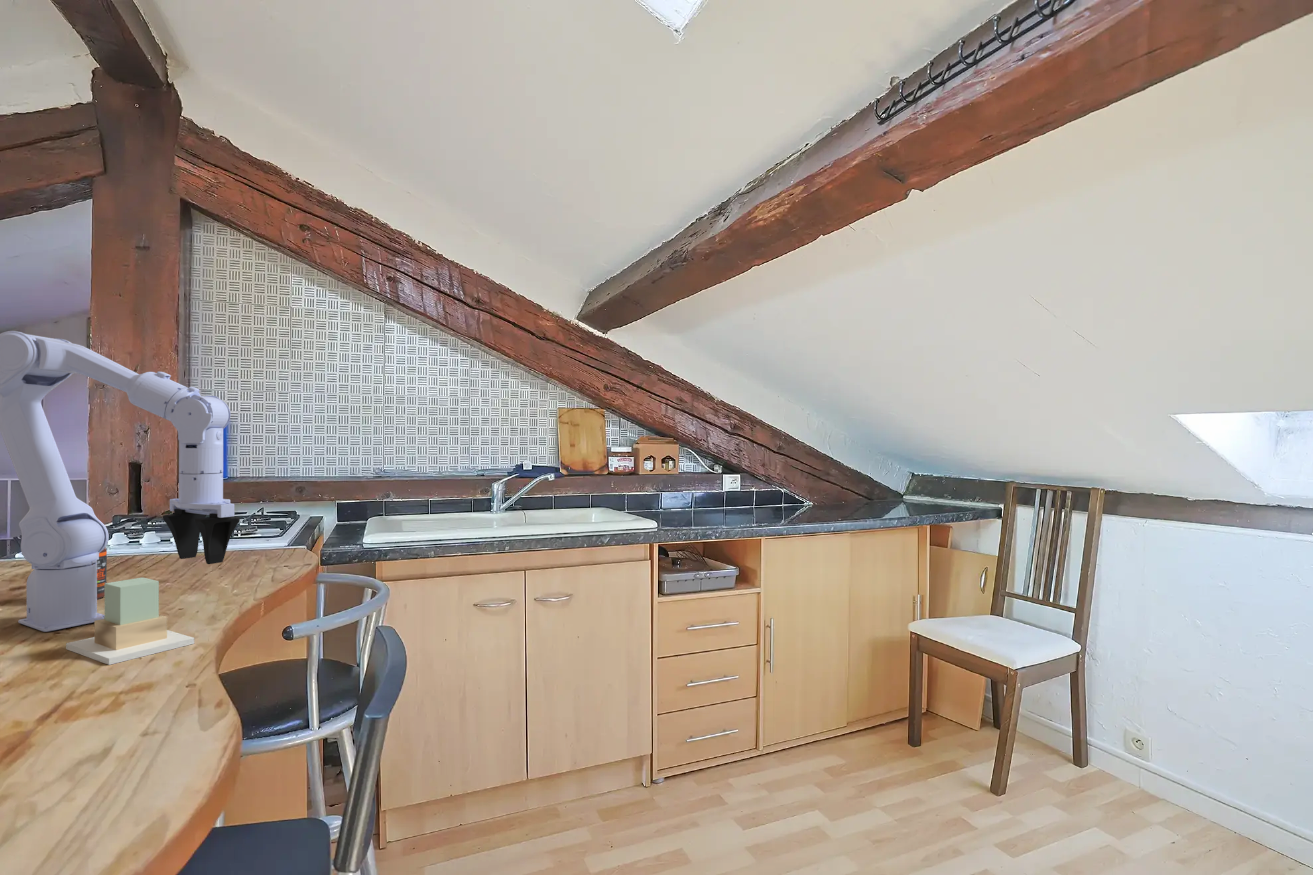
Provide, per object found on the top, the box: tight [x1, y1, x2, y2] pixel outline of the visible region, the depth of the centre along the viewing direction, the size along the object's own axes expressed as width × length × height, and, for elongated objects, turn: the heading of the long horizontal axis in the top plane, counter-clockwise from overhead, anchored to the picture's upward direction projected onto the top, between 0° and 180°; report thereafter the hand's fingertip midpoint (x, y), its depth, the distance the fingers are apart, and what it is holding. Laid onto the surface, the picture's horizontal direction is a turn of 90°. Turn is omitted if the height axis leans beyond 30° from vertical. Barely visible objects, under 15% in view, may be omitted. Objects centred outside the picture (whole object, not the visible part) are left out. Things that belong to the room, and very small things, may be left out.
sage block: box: [104, 577, 160, 625], centre depth 93 cm, size 4×4×5 cm
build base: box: [65, 614, 195, 666], centre depth 93 cm, size 12×10×4 cm
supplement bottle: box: [97, 546, 108, 600], centre depth 118 cm, size 6×6×11 cm
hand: (201, 560), depth 106 cm, fingers open, 7 cm apart
